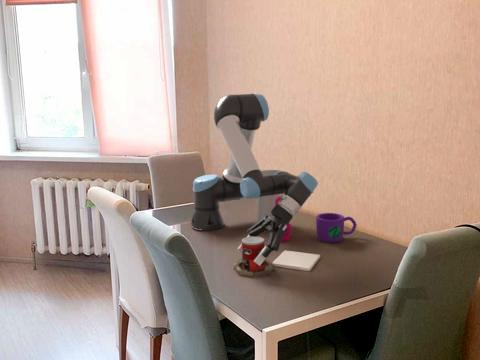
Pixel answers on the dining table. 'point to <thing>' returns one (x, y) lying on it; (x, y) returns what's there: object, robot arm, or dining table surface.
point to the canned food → (252, 253)
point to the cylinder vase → (266, 199)
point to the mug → (332, 227)
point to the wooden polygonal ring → (254, 273)
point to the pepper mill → (286, 235)
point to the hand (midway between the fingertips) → (248, 257)
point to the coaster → (296, 260)
